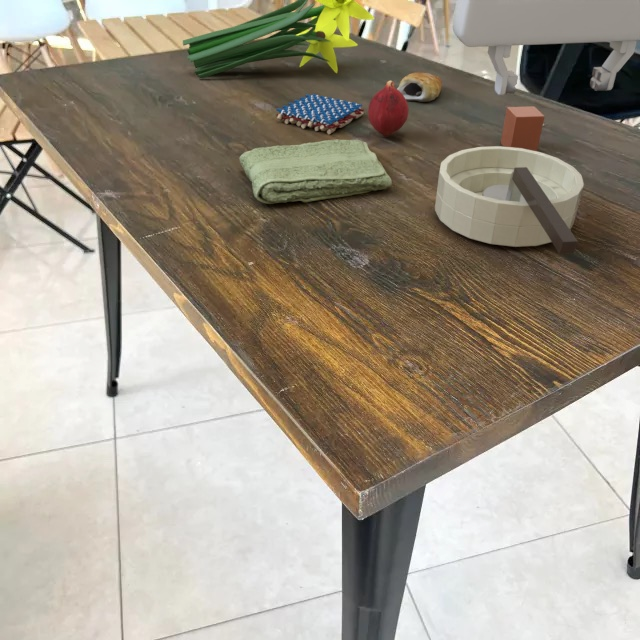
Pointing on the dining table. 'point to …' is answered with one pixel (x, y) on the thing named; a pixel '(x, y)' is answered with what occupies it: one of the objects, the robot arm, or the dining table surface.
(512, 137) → the terracotta upright block
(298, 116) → the woven mat
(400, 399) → the dining table surface
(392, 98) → the onion
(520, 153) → the bowl
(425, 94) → the pastry
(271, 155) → the washcloth
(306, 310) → the dining table surface
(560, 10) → the robot arm
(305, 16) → the daffodil flowers
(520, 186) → the ladle
